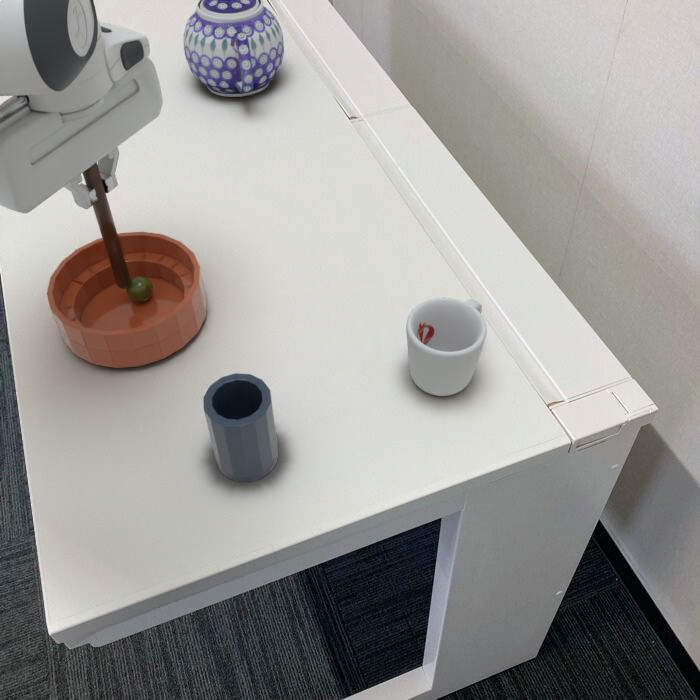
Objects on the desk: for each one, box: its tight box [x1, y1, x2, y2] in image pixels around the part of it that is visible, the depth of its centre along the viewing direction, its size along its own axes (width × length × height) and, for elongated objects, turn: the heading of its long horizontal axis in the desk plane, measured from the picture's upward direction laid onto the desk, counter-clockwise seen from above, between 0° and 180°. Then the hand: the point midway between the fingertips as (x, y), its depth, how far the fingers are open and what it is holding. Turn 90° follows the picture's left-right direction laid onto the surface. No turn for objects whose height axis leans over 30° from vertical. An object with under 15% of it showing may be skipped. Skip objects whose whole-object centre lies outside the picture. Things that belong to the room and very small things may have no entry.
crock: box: [202, 372, 279, 483], centre depth 72 cm, size 6×6×9 cm
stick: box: [82, 162, 131, 289], centre depth 80 cm, size 2×2×20 cm
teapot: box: [183, 0, 285, 98], centre depth 118 cm, size 25×15×15 cm, turn 12°
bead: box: [126, 276, 153, 302], centre depth 88 cm, size 3×3×3 cm
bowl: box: [46, 231, 208, 369], centre depth 86 cm, size 16×16×6 cm
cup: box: [405, 297, 488, 397], centre depth 80 cm, size 11×8×8 cm
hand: (97, 195), depth 78 cm, fingers closed on stick, 2 cm apart
